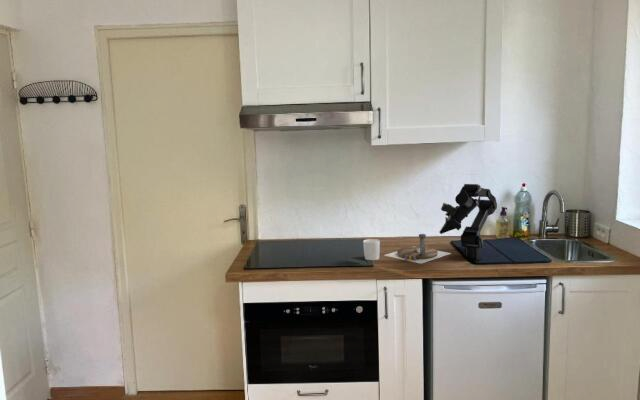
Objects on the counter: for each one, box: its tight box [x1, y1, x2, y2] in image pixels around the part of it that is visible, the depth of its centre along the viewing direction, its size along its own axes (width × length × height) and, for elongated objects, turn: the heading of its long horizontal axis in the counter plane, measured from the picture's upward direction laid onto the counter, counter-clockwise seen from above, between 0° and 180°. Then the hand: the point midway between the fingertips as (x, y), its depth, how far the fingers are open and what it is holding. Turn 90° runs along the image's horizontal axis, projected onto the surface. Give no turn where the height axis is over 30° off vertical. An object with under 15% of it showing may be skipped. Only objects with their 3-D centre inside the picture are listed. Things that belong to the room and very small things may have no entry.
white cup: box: [362, 238, 381, 261], centre depth 240 cm, size 8×8×10 cm
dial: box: [397, 233, 438, 259], centre depth 243 cm, size 19×19×11 cm
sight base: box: [383, 245, 452, 265], centre depth 243 cm, size 23×23×4 cm
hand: (440, 233), depth 232 cm, fingers closed
